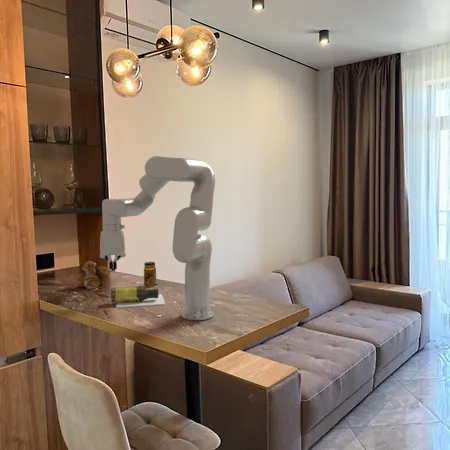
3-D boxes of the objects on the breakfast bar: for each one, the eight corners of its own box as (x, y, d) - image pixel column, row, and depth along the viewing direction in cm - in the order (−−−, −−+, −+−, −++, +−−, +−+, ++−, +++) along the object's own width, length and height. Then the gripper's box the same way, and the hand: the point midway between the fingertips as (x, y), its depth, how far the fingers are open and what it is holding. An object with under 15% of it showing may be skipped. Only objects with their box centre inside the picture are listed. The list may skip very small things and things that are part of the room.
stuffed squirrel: (76, 286, 212) (76, 260, 210) (103, 282, 220) (103, 257, 219) (84, 290, 204) (83, 263, 203) (111, 286, 213) (111, 260, 211)
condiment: (142, 287, 209) (141, 263, 208) (144, 283, 218) (144, 260, 217) (157, 287, 210) (156, 263, 209) (159, 283, 218) (158, 260, 217)
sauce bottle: (110, 303, 176) (158, 302, 180) (110, 288, 177) (158, 287, 181) (111, 301, 183) (158, 299, 187) (111, 287, 183) (158, 285, 187)
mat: (164, 304, 179) (164, 303, 179) (116, 307, 174) (116, 306, 174) (162, 295, 194) (161, 294, 194) (117, 297, 190) (117, 296, 190)
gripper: (130, 227, 184) (131, 268, 186) (94, 227, 181) (95, 270, 182) (130, 228, 177) (131, 271, 178) (92, 229, 173) (94, 273, 175)
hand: (113, 270), depth 180 cm, fingers closed
